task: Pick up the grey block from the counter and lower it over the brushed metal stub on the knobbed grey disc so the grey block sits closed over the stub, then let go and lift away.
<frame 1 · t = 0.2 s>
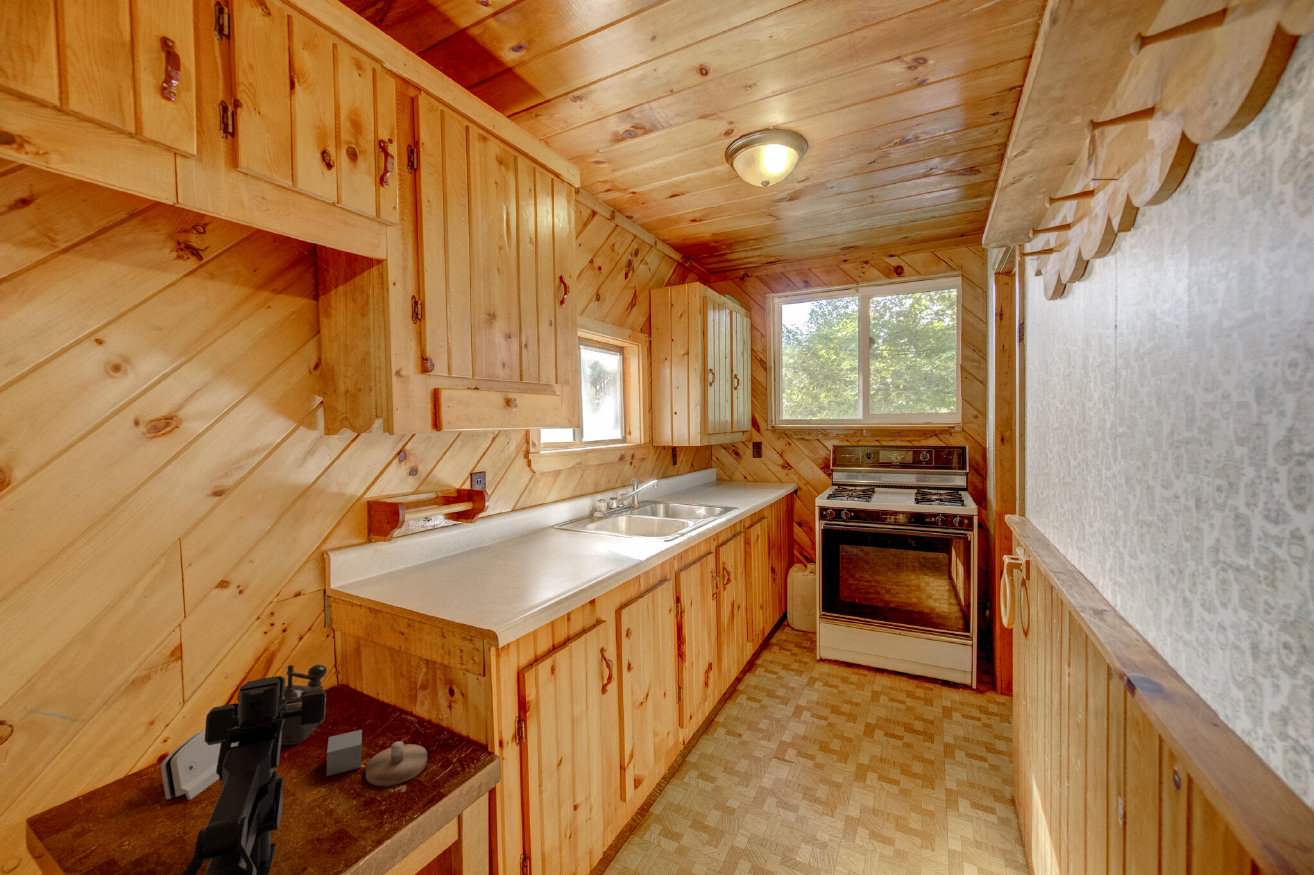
hand: (275, 698, 108), 17 cm above the counter, tool horizontal, fingers open, 9 cm apart
grey block: (344, 763, 113), on the counter
dark grey coffee grinder: (298, 735, 124), on the counter
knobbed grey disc: (397, 767, 112), on the counter
grey napkin holder: (209, 774, 110), on the counter
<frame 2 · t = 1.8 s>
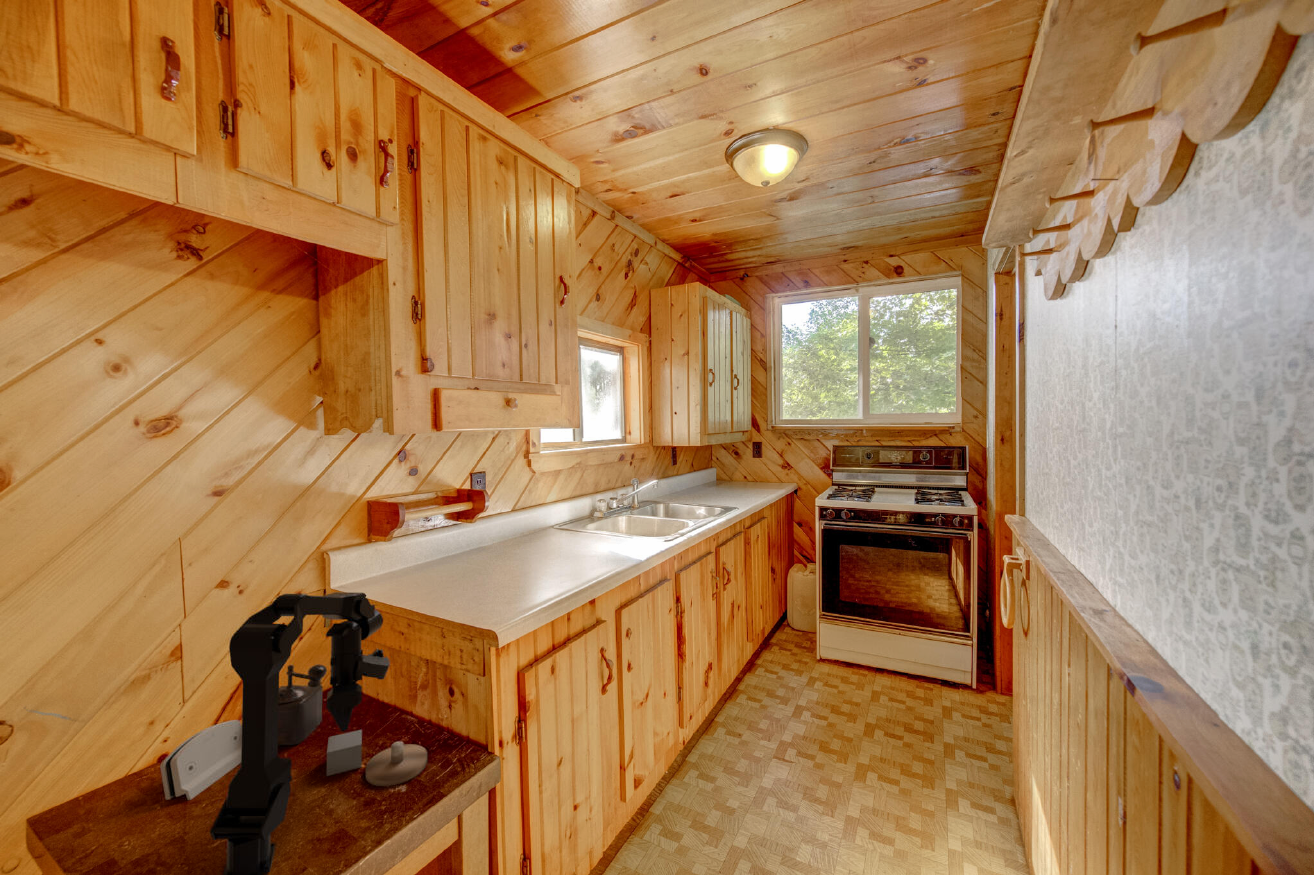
hand: (345, 720, 113), 10 cm above the counter, tool pointing down, fingers open, 9 cm apart
nothing on the counter moved.
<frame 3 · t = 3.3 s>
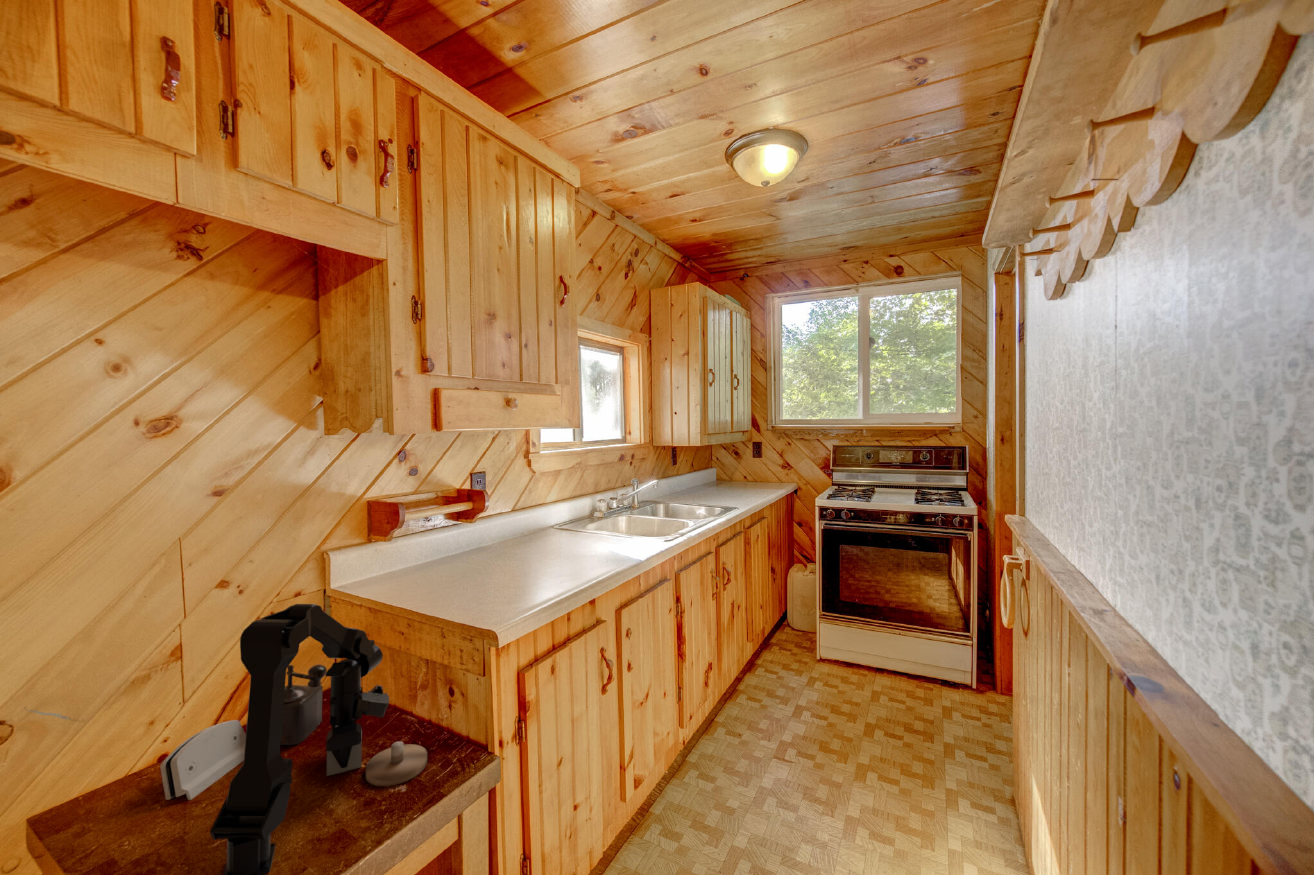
hand: (344, 758, 113), 1 cm above the counter, tool pointing down, fingers closed on grey block, 6 cm apart
grey block: (344, 763, 113), on the counter, touching gripper
everything else where it was.
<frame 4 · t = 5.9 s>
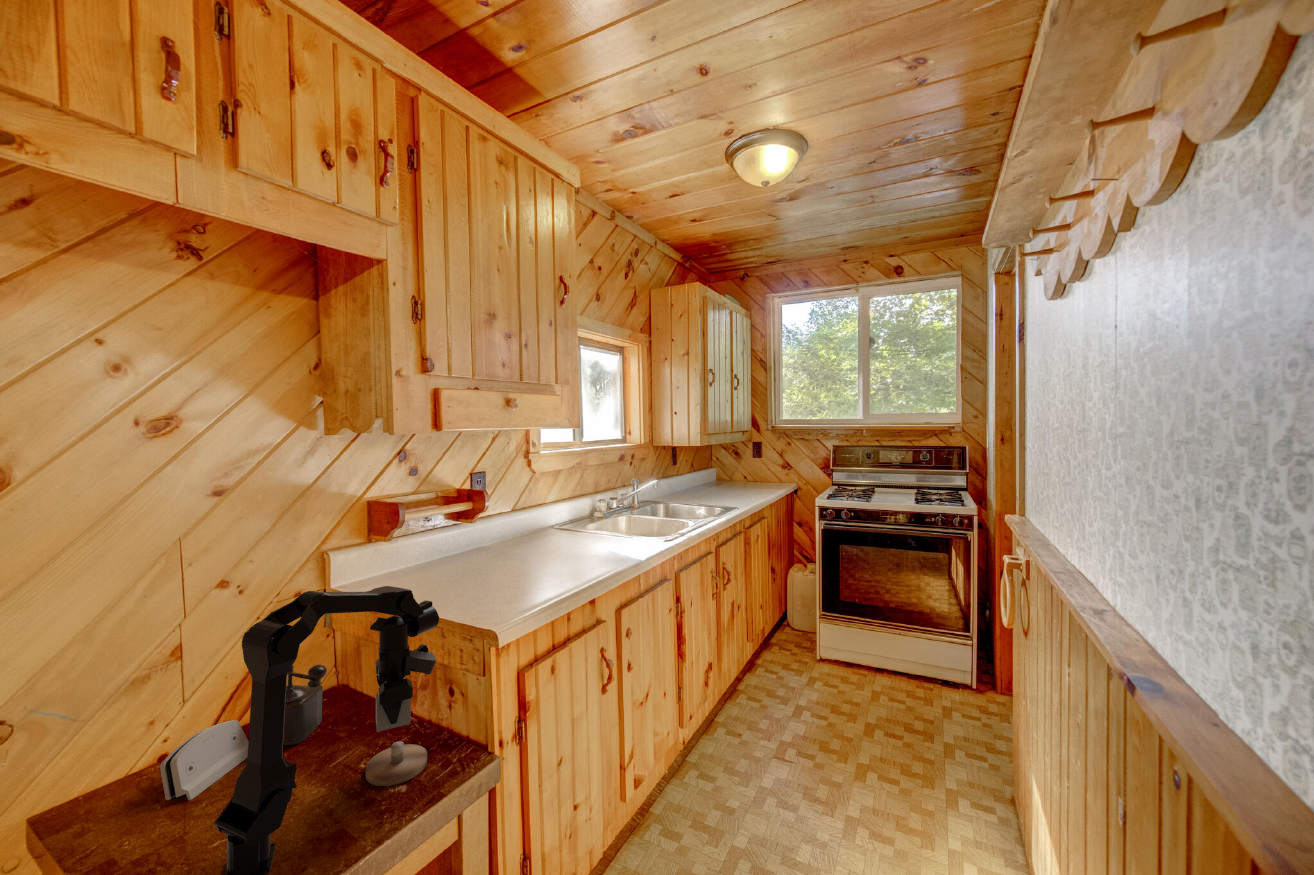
hand: (392, 716, 112), 11 cm above the counter, tool pointing down, fingers closed on grey block, 6 cm apart
grey block: (392, 720, 112), point 10 cm above the counter, touching gripper
everything else where it was.
when the fingers open (3 cm above the counter, at t = 8.4 s): grey block stays where it is, resting on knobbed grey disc.
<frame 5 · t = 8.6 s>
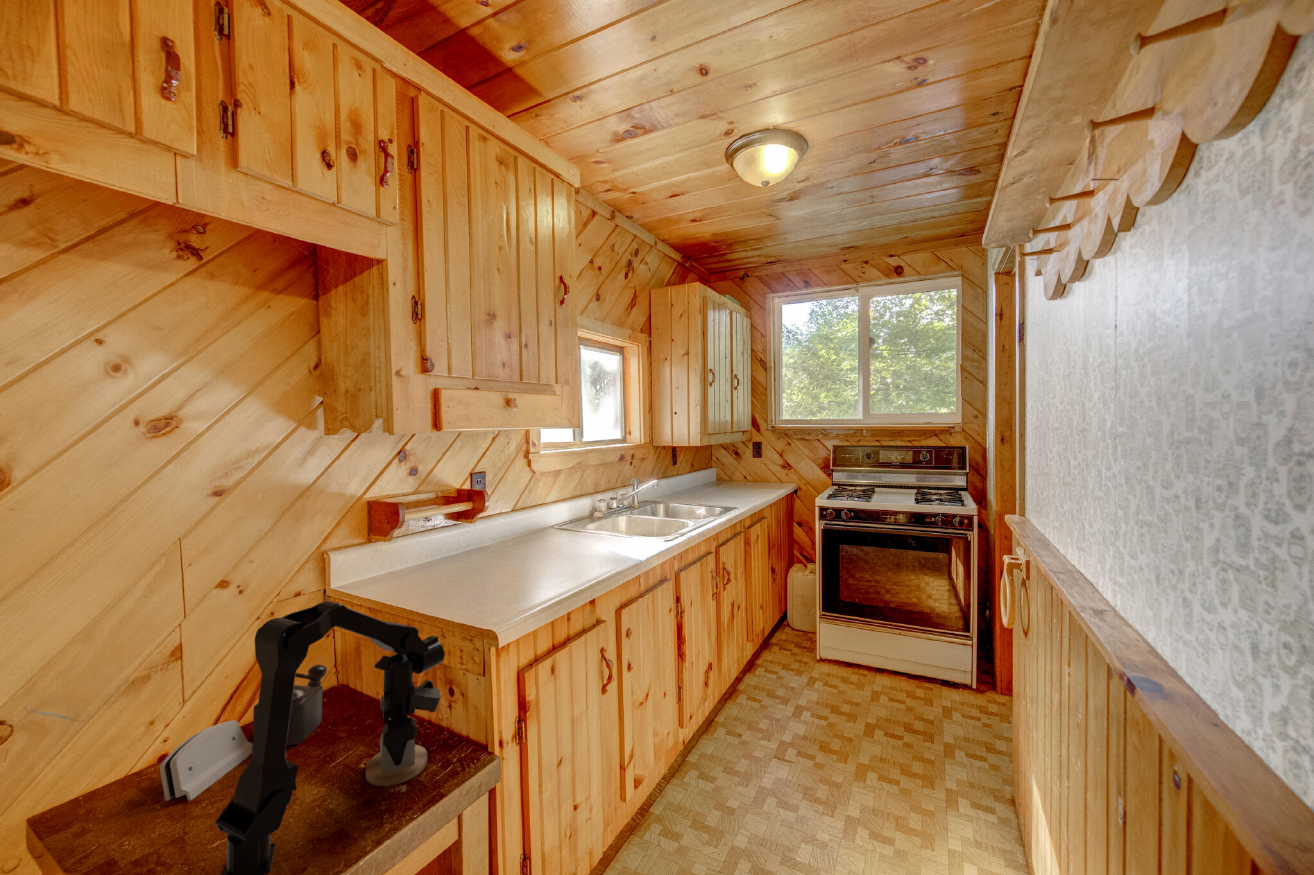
hand: (397, 754, 112), 3 cm above the counter, tool pointing down, fingers open, 8 cm apart
grey block: (397, 760, 112), point 1 cm above the counter, touching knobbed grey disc
everything else where it was.
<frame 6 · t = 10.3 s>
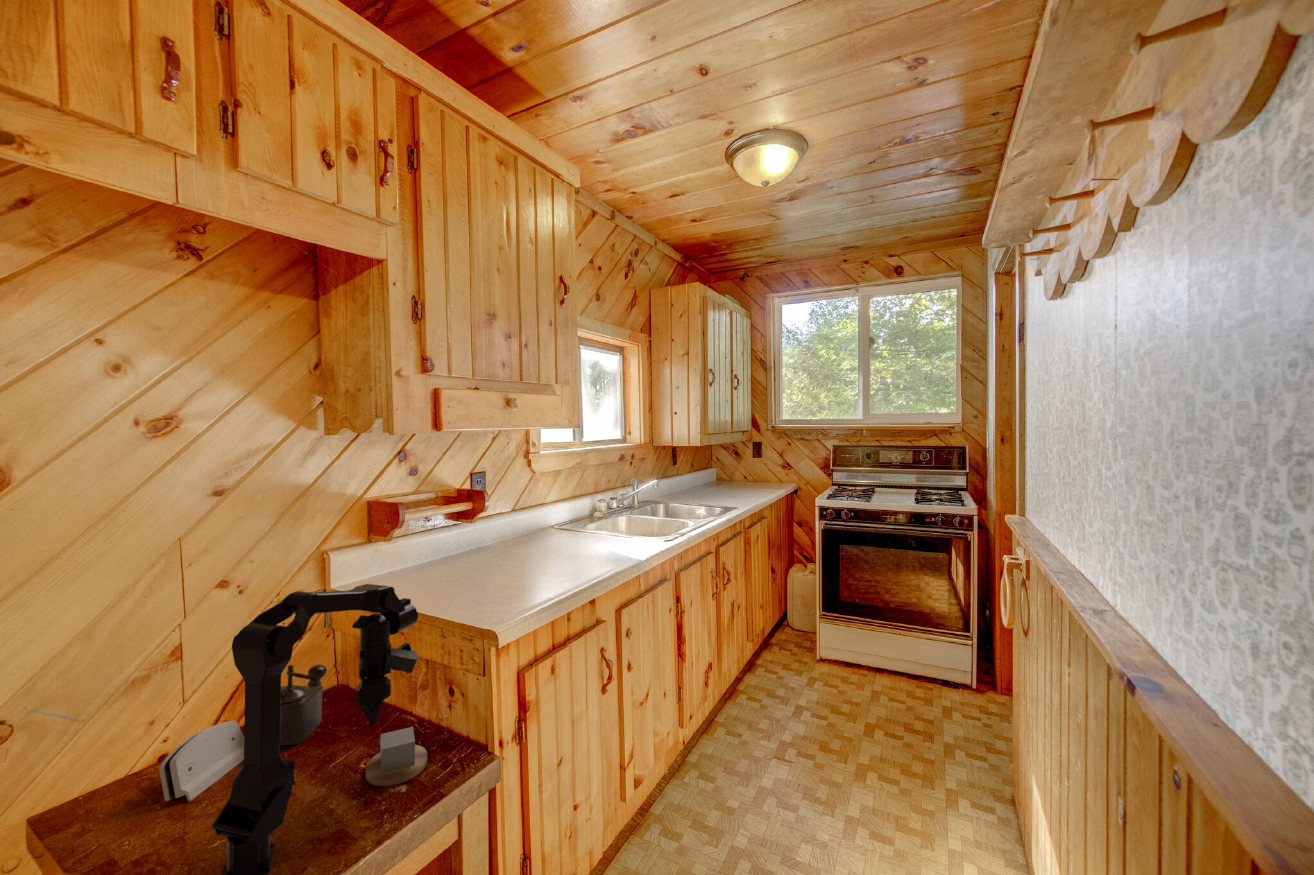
hand: (373, 714, 112), 12 cm above the counter, tool pointing down, fingers open, 9 cm apart
nothing on the counter moved.
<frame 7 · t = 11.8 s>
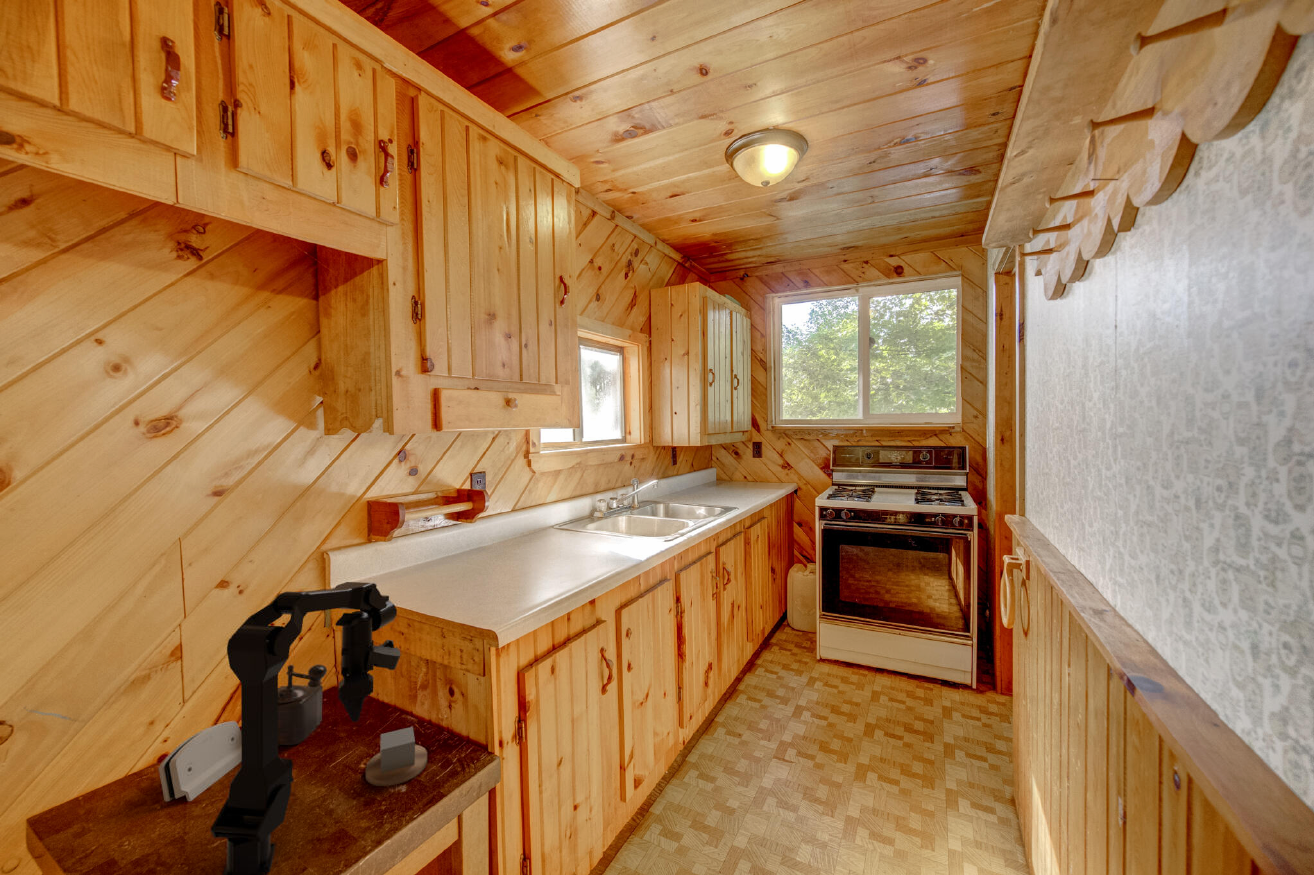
hand: (356, 711, 113), 12 cm above the counter, tool pointing down, fingers open, 9 cm apart
nothing on the counter moved.
at the end: grey block 0.0 cm off-centre on the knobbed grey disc, point 1.5 cm above the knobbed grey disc's base; grey block tilted 0°; the gripper is holding nothing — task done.
